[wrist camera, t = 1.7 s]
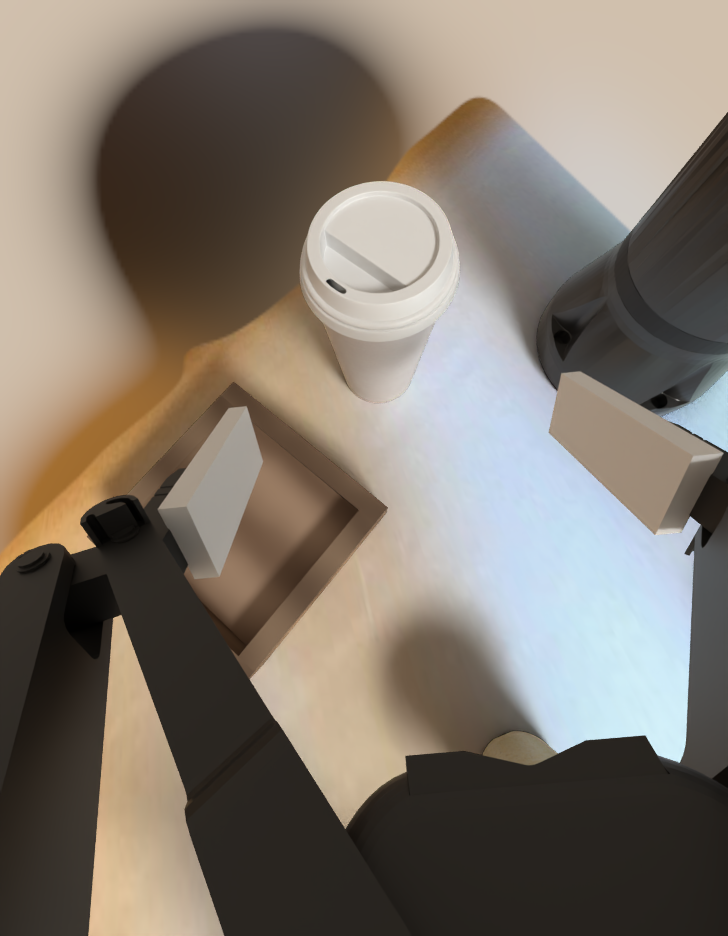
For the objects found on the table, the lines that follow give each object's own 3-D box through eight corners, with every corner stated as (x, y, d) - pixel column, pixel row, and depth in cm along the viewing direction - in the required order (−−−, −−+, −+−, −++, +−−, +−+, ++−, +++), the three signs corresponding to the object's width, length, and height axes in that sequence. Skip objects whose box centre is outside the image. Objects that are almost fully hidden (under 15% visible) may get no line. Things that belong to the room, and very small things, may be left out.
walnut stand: (254, 405, 34) (233, 381, 29) (386, 512, 31) (387, 507, 26) (132, 537, 31) (86, 536, 27) (262, 665, 29) (238, 690, 24)
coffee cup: (311, 353, 34) (262, 213, 20) (398, 310, 35) (412, 143, 20) (357, 436, 33) (340, 349, 18) (448, 389, 33) (503, 268, 18)
